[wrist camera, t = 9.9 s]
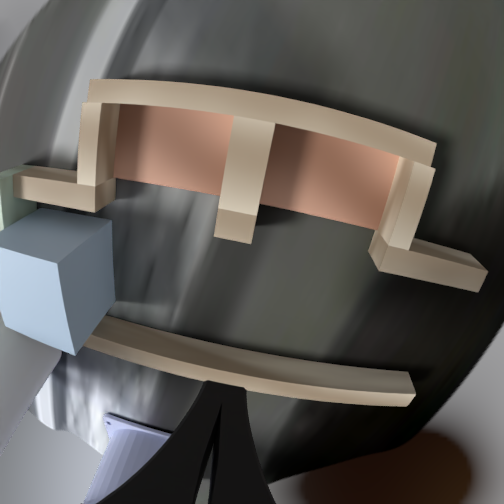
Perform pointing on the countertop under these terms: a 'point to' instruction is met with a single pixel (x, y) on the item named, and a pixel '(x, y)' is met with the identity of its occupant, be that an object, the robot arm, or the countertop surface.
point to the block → (56, 276)
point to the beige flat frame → (250, 208)
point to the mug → (21, 376)
